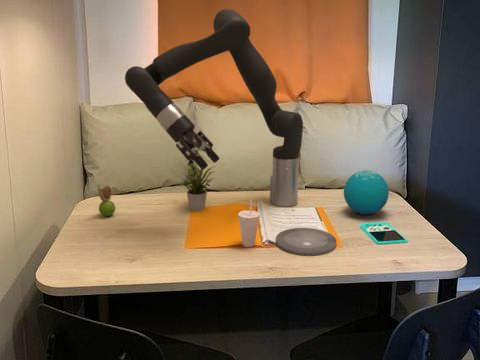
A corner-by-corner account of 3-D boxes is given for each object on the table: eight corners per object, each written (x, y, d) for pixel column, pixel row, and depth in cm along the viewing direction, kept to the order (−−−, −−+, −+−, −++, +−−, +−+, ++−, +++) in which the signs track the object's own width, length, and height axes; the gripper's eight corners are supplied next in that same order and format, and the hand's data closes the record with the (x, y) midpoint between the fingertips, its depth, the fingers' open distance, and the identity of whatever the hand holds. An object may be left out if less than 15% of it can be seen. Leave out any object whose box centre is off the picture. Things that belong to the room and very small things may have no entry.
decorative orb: (349, 203, 200) (351, 163, 195) (391, 209, 194) (394, 168, 189) (337, 216, 187) (339, 174, 183) (381, 224, 181) (385, 180, 176)
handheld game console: (386, 225, 182) (387, 221, 181) (409, 244, 167) (409, 240, 166) (357, 226, 180) (358, 223, 180) (377, 246, 165) (377, 242, 165)
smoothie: (257, 249, 161) (257, 204, 157) (235, 247, 162) (235, 202, 158) (261, 241, 167) (261, 197, 163) (240, 239, 168) (240, 195, 164)
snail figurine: (94, 218, 185) (91, 184, 181) (105, 212, 191) (103, 178, 187) (107, 220, 183) (105, 185, 179) (119, 214, 189) (116, 180, 185)
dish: (263, 241, 167) (263, 237, 167) (305, 226, 178) (305, 223, 178) (306, 261, 154) (306, 257, 153) (348, 244, 165) (349, 240, 164)
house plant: (228, 206, 196) (228, 162, 191) (205, 218, 185) (205, 171, 180) (196, 199, 203) (195, 156, 199) (172, 210, 192) (170, 165, 187)
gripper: (172, 118, 154) (210, 162, 154) (193, 110, 167) (229, 150, 166) (155, 135, 157) (193, 178, 157) (178, 126, 170) (212, 166, 170)
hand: (211, 164), depth 162 cm, fingers open, 8 cm apart
